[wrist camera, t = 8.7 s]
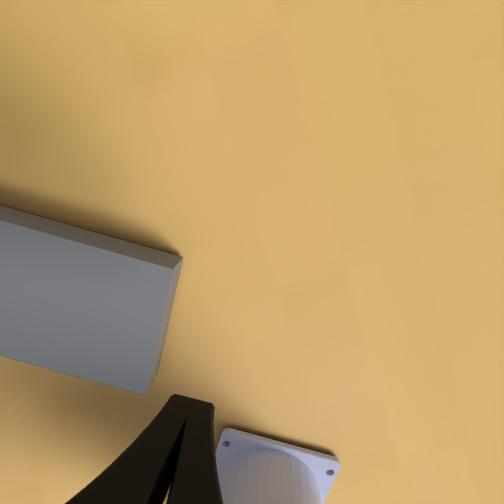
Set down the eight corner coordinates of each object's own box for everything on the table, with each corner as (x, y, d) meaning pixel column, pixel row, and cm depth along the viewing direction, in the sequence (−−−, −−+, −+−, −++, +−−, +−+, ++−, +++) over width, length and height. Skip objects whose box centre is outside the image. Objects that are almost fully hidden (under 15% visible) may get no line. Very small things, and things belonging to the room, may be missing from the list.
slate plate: (156, 373, 22) (145, 395, 20) (-127, 295, 21) (-166, 310, 20) (183, 257, 19) (173, 269, 17) (-135, 167, 19) (-180, 169, 17)
